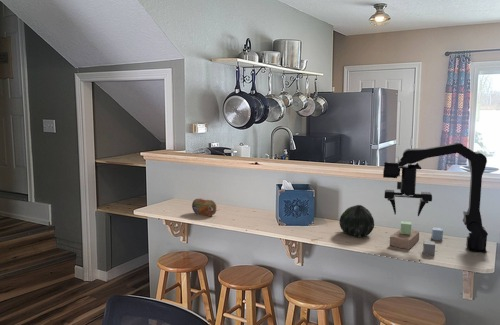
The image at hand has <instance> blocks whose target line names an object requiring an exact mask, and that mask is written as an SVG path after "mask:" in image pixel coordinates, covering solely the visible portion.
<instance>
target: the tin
mask: <svg viewBox="0 0 500 325" xmlns="http://www.w3.org/2000/svg"><path fill="white" fill-rule="evenodd" d="M191 208H192V211H193V212H194V214H195V215H199V216H205V217H213V216H214V215H215V214H216V212H217V204H216V203H215V201H214V200H212V199H205V198H195V199H194V200H193V201H192V204H191Z"/></svg>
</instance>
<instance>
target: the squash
mask: <svg viewBox="0 0 500 325" xmlns="http://www.w3.org/2000/svg"><path fill="white" fill-rule="evenodd" d="M338 222H339V227H340V229H341V230H342V232H344V233H346V234H347V235H351V236H354V237H356V238H359V237H361V238H364V237H366V236H369V234H371V233H372V232H373V230H374V228H375V218H374V216H373V214H372V213H371V211H370V210H369V209H367V208H366V207H365V206H364V205H362V204H356V205H352V206H349V207H347V208H346V210H344V211H343V213H341V215H340V218H339V220H338Z"/></svg>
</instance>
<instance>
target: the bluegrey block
mask: <svg viewBox="0 0 500 325" xmlns="http://www.w3.org/2000/svg"><path fill="white" fill-rule="evenodd" d="M443 235H444V230H443V227H431V239H432V240H433V241H443V237H444V236H443Z"/></svg>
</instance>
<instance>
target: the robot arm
mask: <svg viewBox="0 0 500 325" xmlns="http://www.w3.org/2000/svg"><path fill="white" fill-rule="evenodd" d="M452 154H459V155H460V156H462V157H464V158H465V159H466V160H468V167H469V172H470V179H469V180H470V182H469V197H468V198H469V200H468V208H467V211H464V210H463V212H462V213H463V219H462V222H463V224H464V225H465V228H466V230H467V231H469V232H468V236H466V240H465V241H466V244H465V245H466V248H467V250H468V251H469V252H479V253H487V252H488V251H487V243H488V242H487V241H488V235H489V233H488V231H487V230H486V229H485V227H484V226H483V220H482V214H481V210H480V208H481V196H482V183H483V182H482V180H483V174H484V172H485V170H486V166H487V162H488V160H487V157H486V155H484V154H483V153H482V152H480V151H474V150H471V149H470V148H468V147H467V146H465V145H464V144H462V143H461V142H459V141H458V142H453V143H449V144H444V145H438V146H432V147H427V148H407V149H405V150H404V151H403V153H402V157H401V158H400V159H398V161H397V162H393V161H392V162H391V161H384V165H383V173H382V174H383V175H382V176H383V178H385V179H398V177H401V181H396V182H397V183H396V190H399V192H396V191H395V190H394V189H385V190H384V194H383V195H384V199H386V200H387V201H389V202H390V204H391V205H392V206H391V207H392V209H393V212H394V215H396V214H397V208H396V199H395V198H396V197H397V198H410V199H411V198H412V199H419V203H418V209H417V217H419V216H420V215H421V212H422V211H423V208H424V207H425V205H426V204H429V202H432V201H433V195H432V193H431V192H430V191H429V192H428V191H421V192H420V193H416V184H417V170H422V166H421V165H420V164H419V162H421V161H423V160H425V159H430V158H435V157H441V156H446V155H448V156H449V155H452ZM406 165H407V166H406Z"/></svg>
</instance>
